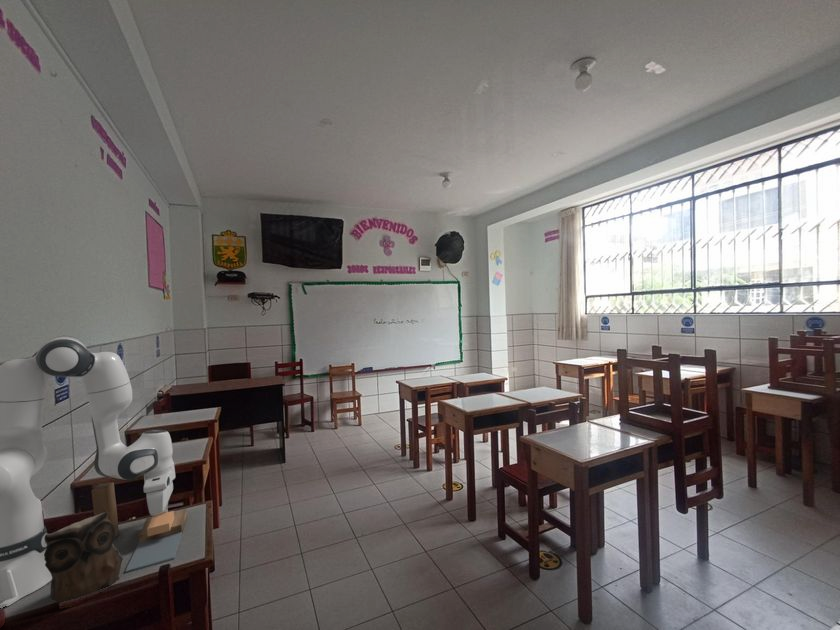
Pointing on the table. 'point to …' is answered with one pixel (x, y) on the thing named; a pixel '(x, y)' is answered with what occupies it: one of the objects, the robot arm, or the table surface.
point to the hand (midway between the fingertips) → (164, 515)
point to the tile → (160, 523)
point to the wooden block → (105, 502)
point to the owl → (82, 558)
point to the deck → (176, 527)
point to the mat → (154, 552)
